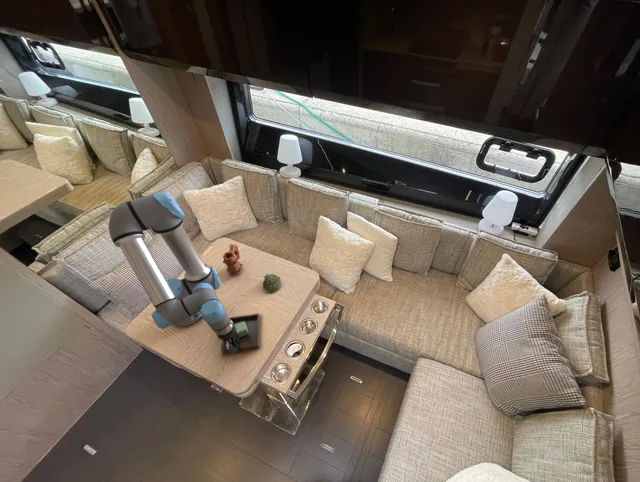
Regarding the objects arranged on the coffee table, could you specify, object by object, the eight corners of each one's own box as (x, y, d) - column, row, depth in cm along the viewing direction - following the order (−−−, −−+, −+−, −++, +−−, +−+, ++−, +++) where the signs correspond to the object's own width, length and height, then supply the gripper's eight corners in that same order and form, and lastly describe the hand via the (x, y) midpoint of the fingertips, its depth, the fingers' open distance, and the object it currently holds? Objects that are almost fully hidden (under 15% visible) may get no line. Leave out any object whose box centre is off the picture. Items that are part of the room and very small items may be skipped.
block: (238, 338, 135) (235, 333, 131) (236, 329, 138) (233, 324, 134) (248, 334, 137) (246, 329, 133) (246, 325, 140) (243, 320, 136)
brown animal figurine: (240, 277, 160) (233, 260, 149) (226, 277, 160) (217, 260, 149) (247, 259, 170) (240, 241, 158) (234, 258, 169) (226, 241, 158)
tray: (223, 353, 131) (221, 351, 128) (227, 321, 142) (225, 318, 139) (259, 348, 133) (257, 345, 130) (260, 316, 144) (259, 313, 142)
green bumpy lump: (270, 293, 151) (261, 277, 149) (264, 294, 157) (256, 279, 155) (285, 285, 158) (277, 269, 156) (279, 286, 163) (271, 271, 161)
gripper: (231, 340, 108) (247, 363, 126) (234, 312, 117) (249, 337, 135) (211, 344, 107) (230, 366, 125) (216, 315, 116) (233, 339, 134)
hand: (240, 351), depth 130 cm, fingers closed
